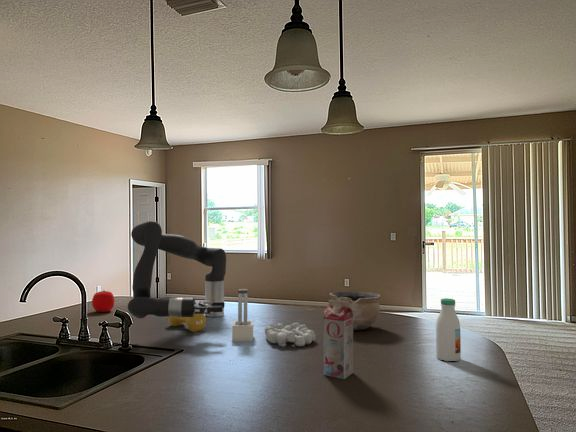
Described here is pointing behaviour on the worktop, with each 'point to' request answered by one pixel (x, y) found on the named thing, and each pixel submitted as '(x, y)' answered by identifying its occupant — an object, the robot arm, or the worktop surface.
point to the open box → (242, 331)
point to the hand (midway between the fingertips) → (223, 306)
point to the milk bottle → (448, 332)
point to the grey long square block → (240, 292)
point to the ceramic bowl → (360, 307)
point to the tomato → (103, 301)
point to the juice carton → (338, 339)
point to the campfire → (289, 334)
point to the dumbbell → (189, 322)
